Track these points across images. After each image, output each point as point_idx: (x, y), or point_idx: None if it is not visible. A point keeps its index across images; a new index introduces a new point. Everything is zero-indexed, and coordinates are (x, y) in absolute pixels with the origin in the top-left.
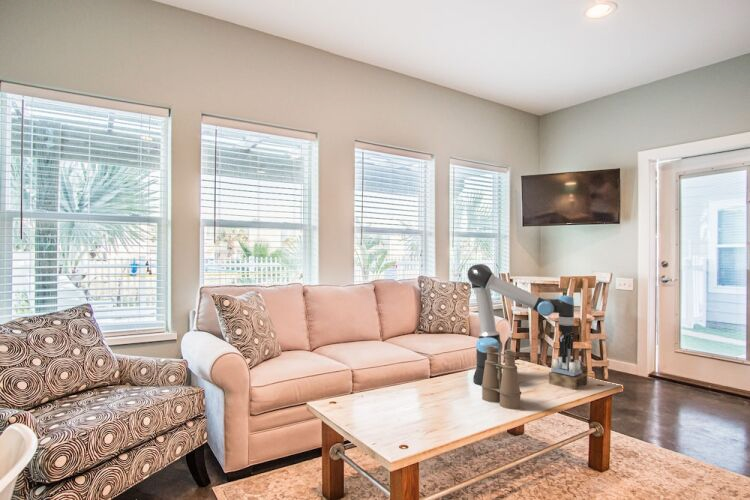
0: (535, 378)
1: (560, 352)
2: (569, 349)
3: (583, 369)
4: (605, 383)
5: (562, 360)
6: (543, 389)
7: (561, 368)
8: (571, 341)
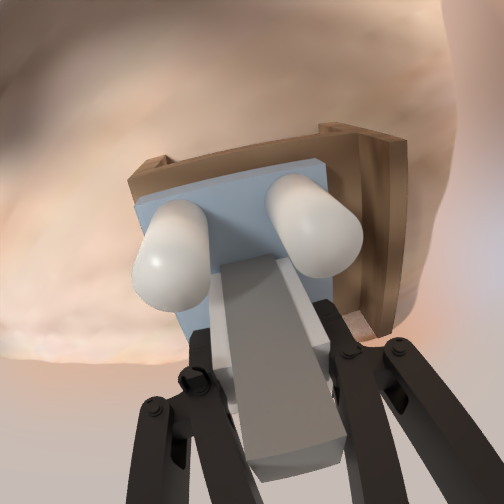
0: (169, 28)
1: (140, 443)
2: (306, 469)
3: (370, 309)
4: (409, 290)
5: (189, 351)
6: (42, 231)
7: (233, 245)
8: (449, 495)
